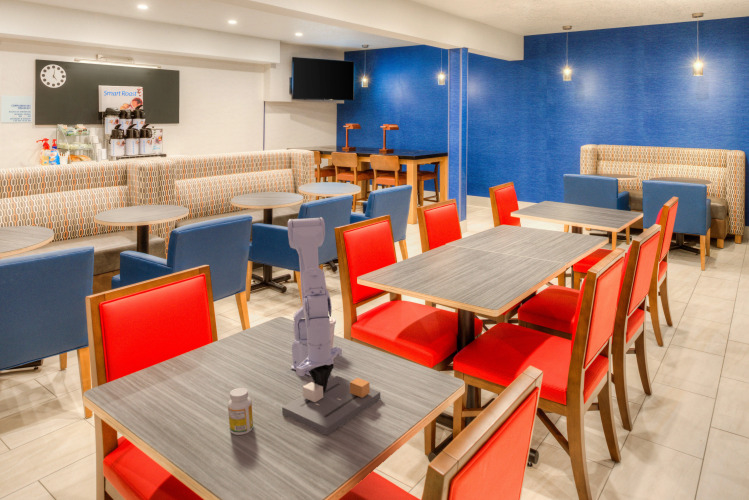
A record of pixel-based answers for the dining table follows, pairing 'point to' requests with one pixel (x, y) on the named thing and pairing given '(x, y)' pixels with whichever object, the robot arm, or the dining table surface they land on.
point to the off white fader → (313, 392)
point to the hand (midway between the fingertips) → (321, 390)
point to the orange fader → (359, 387)
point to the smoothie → (332, 330)
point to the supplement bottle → (240, 412)
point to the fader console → (330, 406)
